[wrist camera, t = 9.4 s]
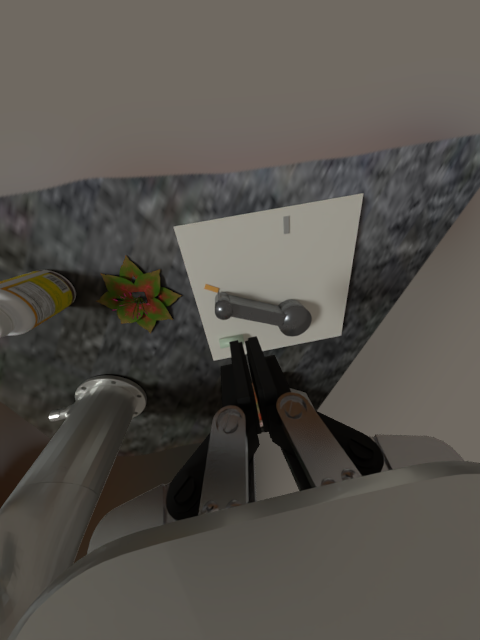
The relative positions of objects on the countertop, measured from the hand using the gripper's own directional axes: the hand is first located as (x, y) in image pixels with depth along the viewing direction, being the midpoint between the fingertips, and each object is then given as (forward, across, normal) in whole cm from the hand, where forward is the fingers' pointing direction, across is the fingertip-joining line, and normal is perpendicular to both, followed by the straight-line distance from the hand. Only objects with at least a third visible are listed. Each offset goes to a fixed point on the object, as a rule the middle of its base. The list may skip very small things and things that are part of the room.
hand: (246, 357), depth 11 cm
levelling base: (+19, -7, +4) cm, 21 cm away
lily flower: (+20, +14, +1) cm, 24 cm away
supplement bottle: (+20, +24, -3) cm, 31 cm away
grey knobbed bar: (+17, -4, +6) cm, 18 cm away
